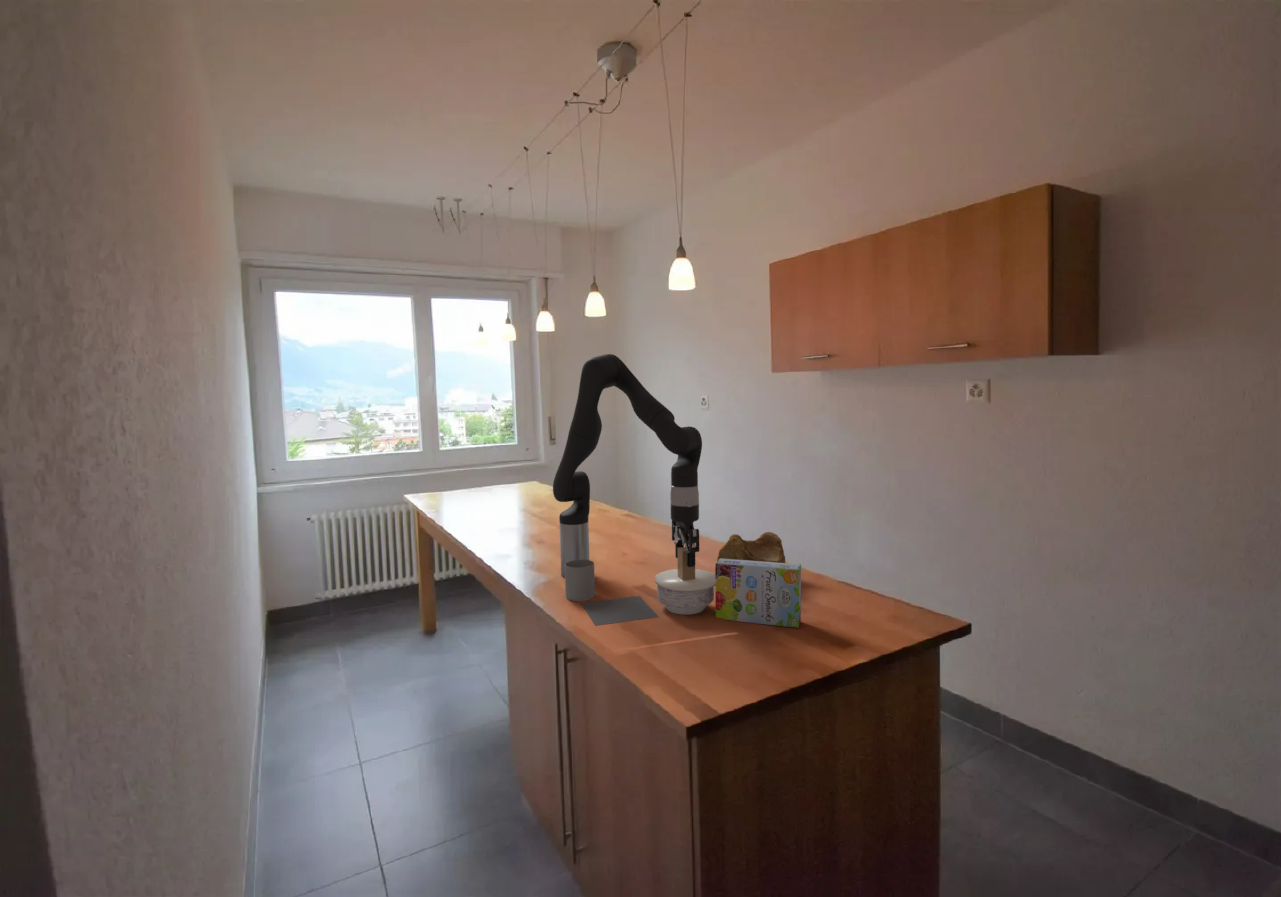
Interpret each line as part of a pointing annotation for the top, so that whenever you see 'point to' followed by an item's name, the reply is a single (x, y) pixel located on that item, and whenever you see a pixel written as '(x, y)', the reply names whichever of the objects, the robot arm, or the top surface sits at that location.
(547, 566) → the top surface
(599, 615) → the mat
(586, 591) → the cup
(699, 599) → the paper bowls
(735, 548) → the rough brown rock
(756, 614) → the snack box
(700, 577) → the lid
